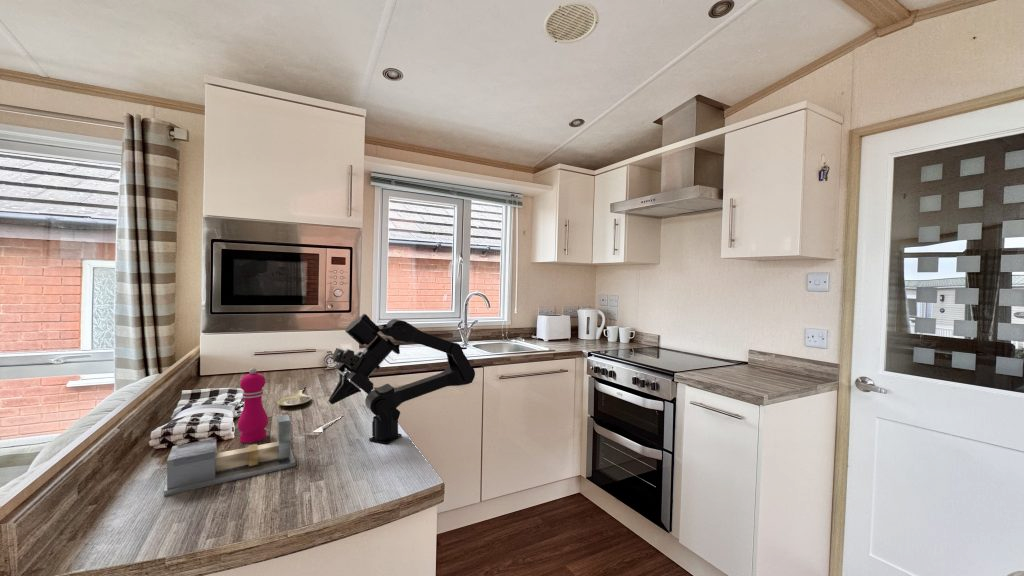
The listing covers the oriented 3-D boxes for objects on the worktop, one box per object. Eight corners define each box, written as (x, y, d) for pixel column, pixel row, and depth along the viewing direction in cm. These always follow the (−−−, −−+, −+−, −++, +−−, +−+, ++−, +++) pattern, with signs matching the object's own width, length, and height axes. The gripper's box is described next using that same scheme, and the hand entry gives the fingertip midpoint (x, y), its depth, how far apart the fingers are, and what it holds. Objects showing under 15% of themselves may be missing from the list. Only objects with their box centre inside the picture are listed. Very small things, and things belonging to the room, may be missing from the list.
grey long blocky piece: (290, 451, 105) (290, 424, 105) (295, 466, 97) (295, 437, 96) (170, 476, 91) (169, 445, 91) (163, 496, 83) (163, 462, 83)
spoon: (288, 392, 169) (288, 387, 169) (316, 389, 173) (316, 384, 173) (273, 411, 137) (273, 405, 137) (308, 408, 141) (308, 401, 141)
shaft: (288, 450, 102) (288, 414, 102) (290, 457, 98) (290, 420, 98) (212, 466, 94) (212, 426, 93) (211, 474, 89) (211, 433, 89)
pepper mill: (253, 444, 109) (253, 371, 109) (231, 442, 111) (230, 370, 110) (274, 435, 116) (273, 365, 116) (253, 433, 118) (252, 364, 118)
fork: (348, 418, 133) (348, 412, 133) (312, 439, 114) (312, 433, 114) (339, 417, 134) (339, 412, 134) (301, 439, 114) (301, 432, 114)
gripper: (343, 333, 116) (300, 376, 110) (360, 341, 100) (311, 392, 94) (371, 358, 120) (332, 401, 114) (391, 369, 105) (347, 419, 99)
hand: (330, 402), depth 105 cm, fingers closed
